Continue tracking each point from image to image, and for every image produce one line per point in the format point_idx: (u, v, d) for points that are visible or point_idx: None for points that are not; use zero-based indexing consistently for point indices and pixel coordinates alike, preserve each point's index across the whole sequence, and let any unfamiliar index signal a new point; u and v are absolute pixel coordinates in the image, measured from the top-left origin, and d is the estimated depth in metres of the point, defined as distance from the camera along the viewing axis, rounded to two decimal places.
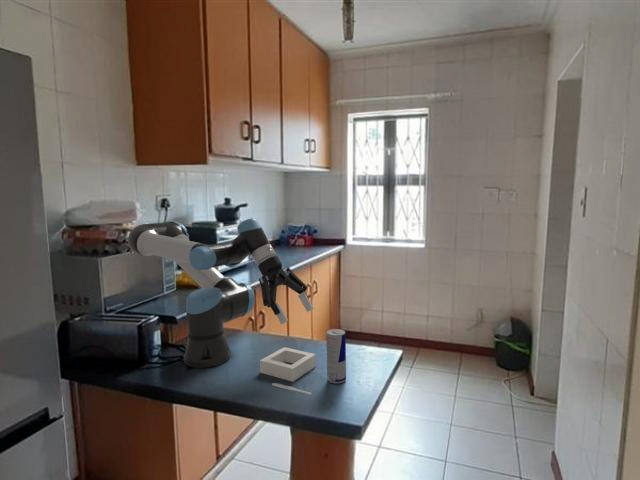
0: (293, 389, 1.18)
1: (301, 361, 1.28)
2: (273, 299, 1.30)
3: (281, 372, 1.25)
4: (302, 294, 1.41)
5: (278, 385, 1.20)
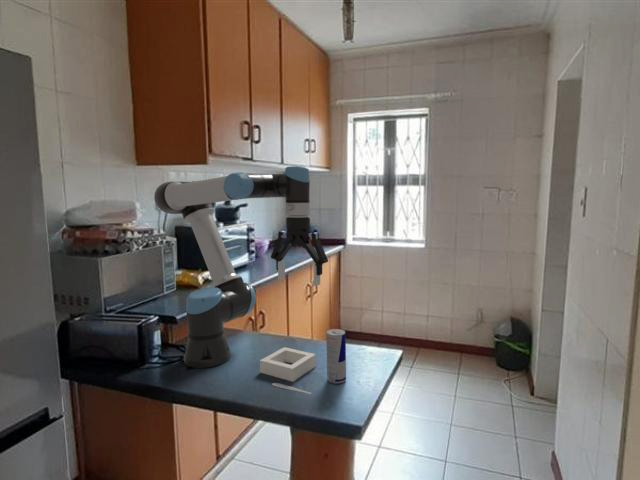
0: (293, 389, 1.18)
1: (301, 361, 1.28)
2: (277, 257, 1.35)
3: (281, 372, 1.25)
4: None
5: (278, 385, 1.21)
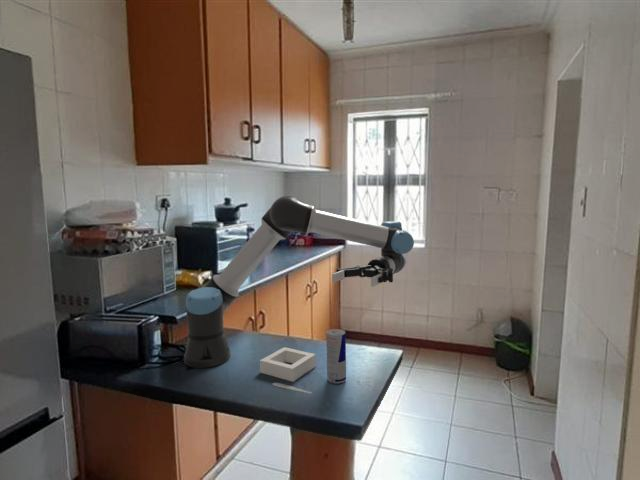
0: (294, 389, 1.18)
1: (301, 361, 1.28)
2: None
3: (281, 372, 1.25)
4: (343, 276, 1.37)
5: (279, 385, 1.21)
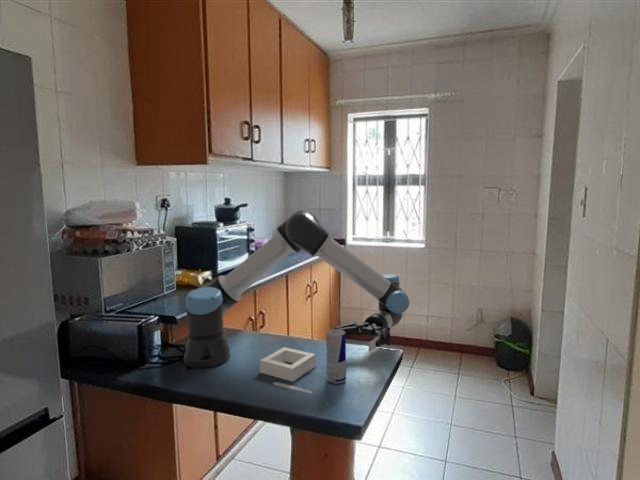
0: (294, 388, 1.19)
1: (301, 361, 1.28)
2: None
3: (281, 372, 1.25)
4: None
5: (279, 384, 1.21)
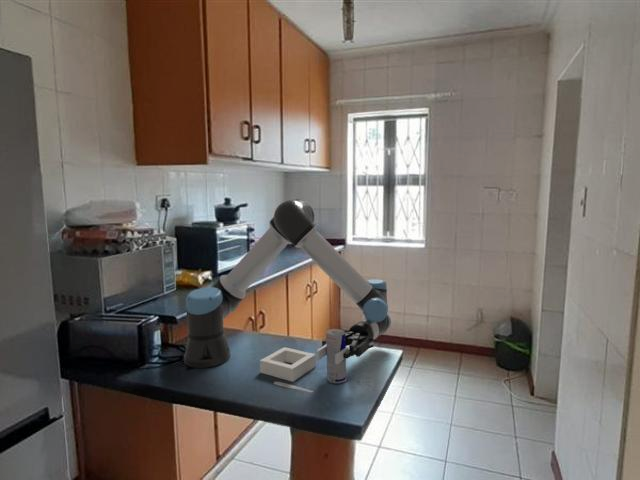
0: (295, 388, 1.19)
1: (301, 361, 1.28)
2: None
3: (281, 372, 1.25)
4: None
5: (280, 384, 1.21)
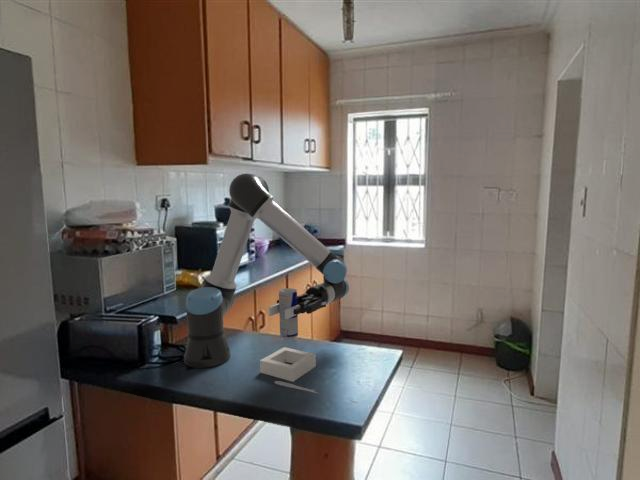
0: (296, 387, 1.19)
1: (301, 361, 1.28)
2: None
3: (281, 372, 1.25)
4: None
5: (281, 383, 1.22)
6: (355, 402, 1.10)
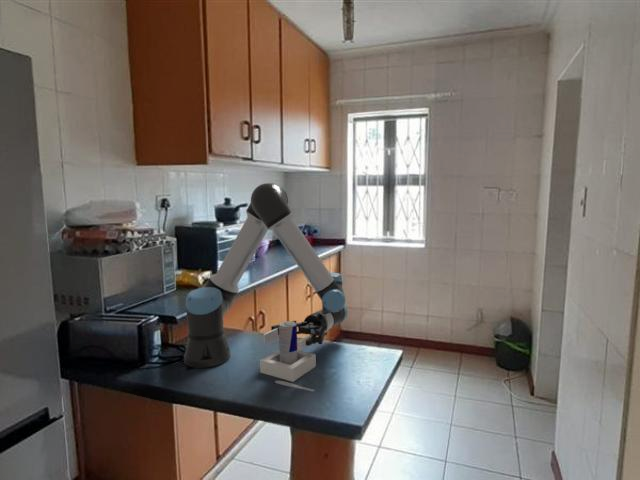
0: (296, 386, 1.20)
1: (301, 361, 1.28)
2: None
3: (281, 372, 1.25)
4: (277, 335, 1.36)
5: (281, 383, 1.22)
6: None
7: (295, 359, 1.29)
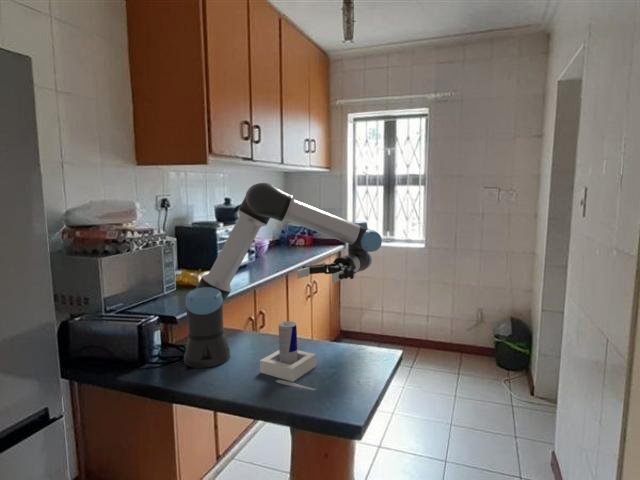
0: (297, 386, 1.20)
1: (301, 361, 1.28)
2: None
3: (281, 372, 1.25)
4: (308, 273, 1.45)
5: (282, 382, 1.22)
6: None
7: (295, 359, 1.29)
